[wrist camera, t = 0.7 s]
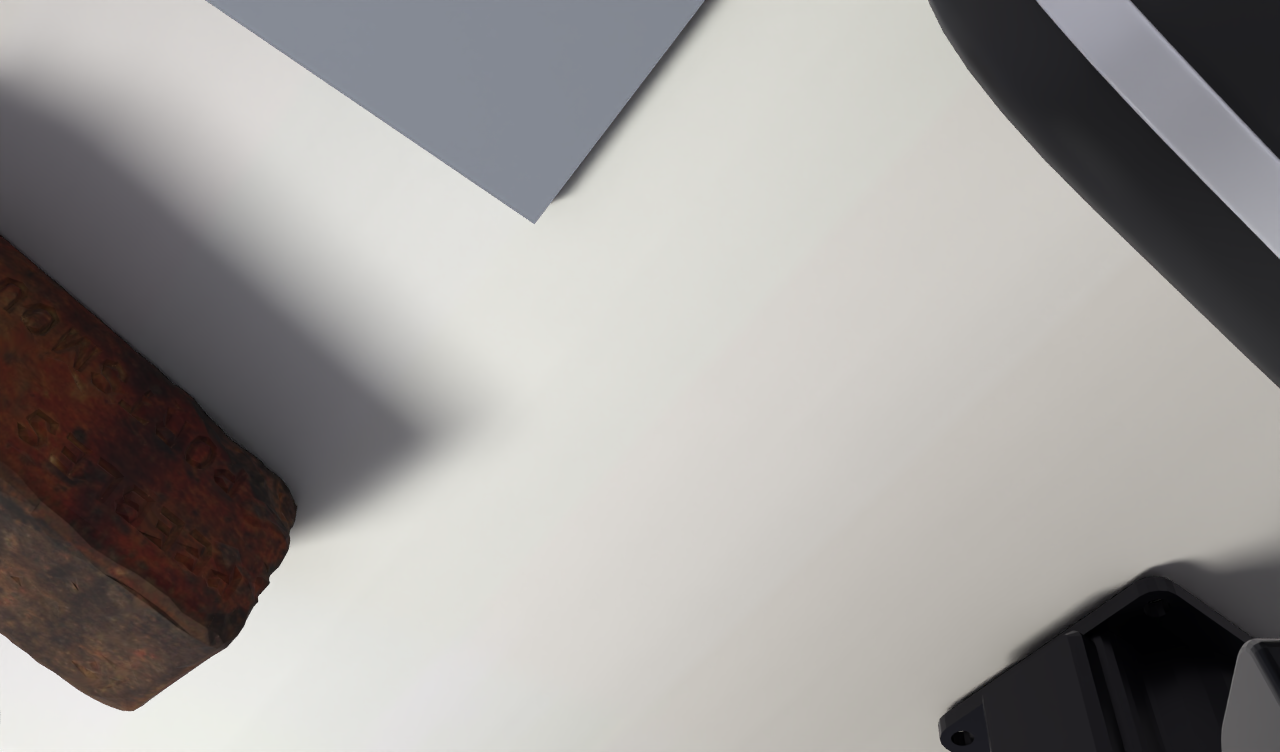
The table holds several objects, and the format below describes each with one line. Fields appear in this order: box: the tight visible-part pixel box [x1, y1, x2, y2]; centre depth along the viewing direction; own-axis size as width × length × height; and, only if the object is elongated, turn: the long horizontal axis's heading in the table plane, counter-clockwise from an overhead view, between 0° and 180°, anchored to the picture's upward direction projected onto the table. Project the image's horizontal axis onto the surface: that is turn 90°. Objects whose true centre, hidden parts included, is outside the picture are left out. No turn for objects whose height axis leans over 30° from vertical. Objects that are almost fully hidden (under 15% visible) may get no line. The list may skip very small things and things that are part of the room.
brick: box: [0, 236, 297, 711], centre depth 23 cm, size 11×4×5 cm, turn 41°
